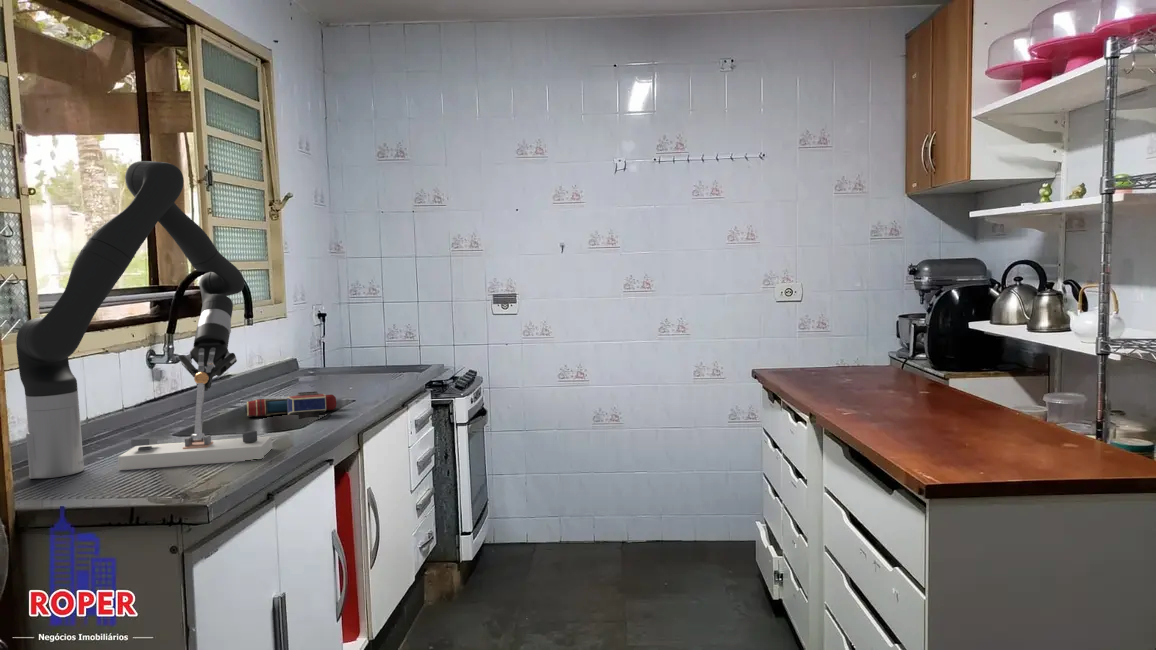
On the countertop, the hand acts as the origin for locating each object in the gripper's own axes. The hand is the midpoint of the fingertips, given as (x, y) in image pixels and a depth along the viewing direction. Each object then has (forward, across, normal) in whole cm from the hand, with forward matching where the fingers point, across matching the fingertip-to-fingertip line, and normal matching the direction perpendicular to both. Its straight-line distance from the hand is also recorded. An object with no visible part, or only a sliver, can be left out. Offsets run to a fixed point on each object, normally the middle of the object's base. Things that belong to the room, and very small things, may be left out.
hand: (203, 388), depth 180 cm
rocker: (+12, -11, +2) cm, 16 cm away
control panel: (+16, 0, +5) cm, 16 cm away
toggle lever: (+12, 0, +2) cm, 12 cm away
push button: (+13, +11, +3) cm, 17 cm away
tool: (-18, +12, +41) cm, 47 cm away
